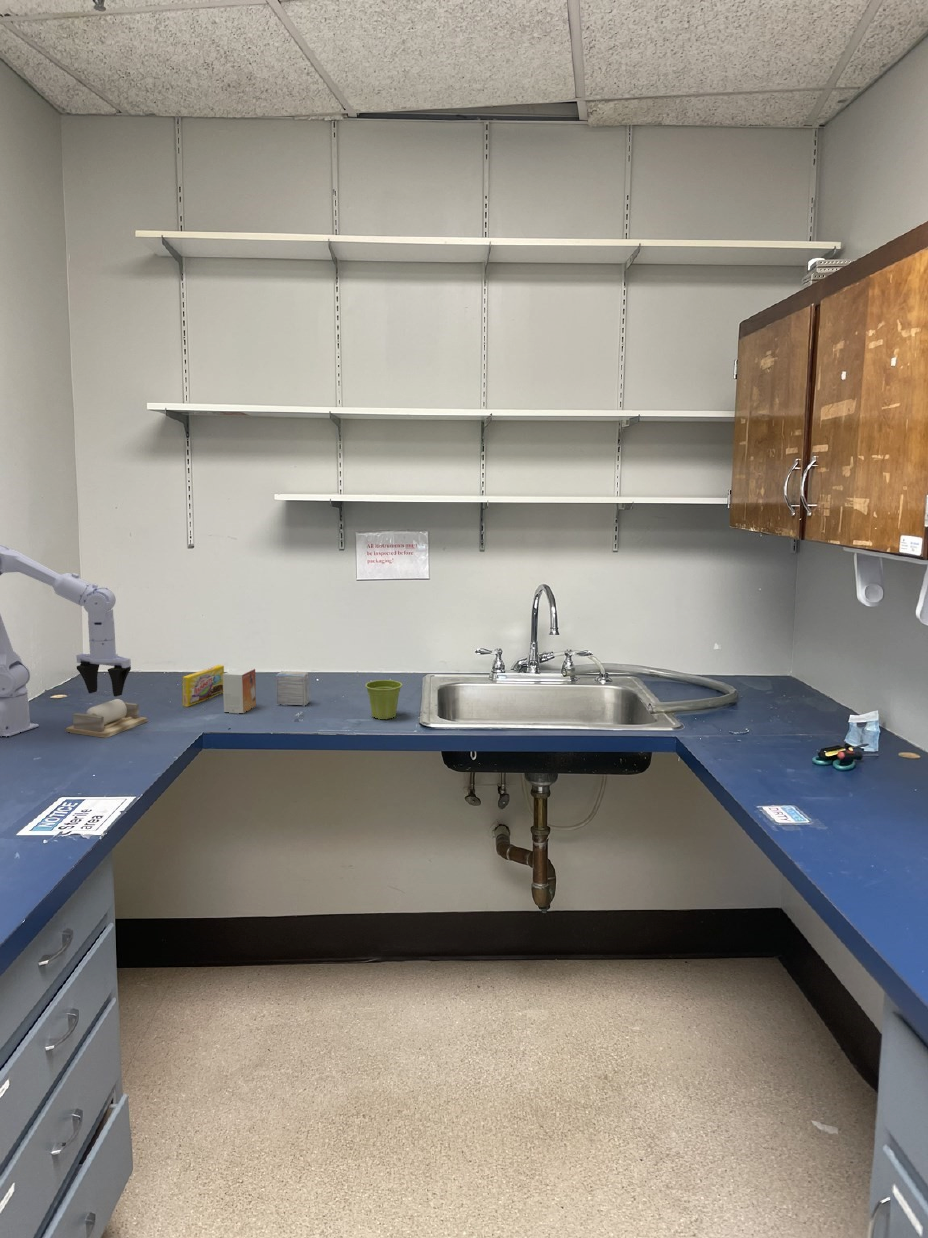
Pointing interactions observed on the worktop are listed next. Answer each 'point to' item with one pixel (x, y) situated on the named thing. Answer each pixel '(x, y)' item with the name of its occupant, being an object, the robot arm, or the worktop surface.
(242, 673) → the small box
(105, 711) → the paper roll
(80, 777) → the worktop surface
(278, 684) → the grey wooden crate
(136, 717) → the roll holder
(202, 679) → the candy box
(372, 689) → the plant pot
